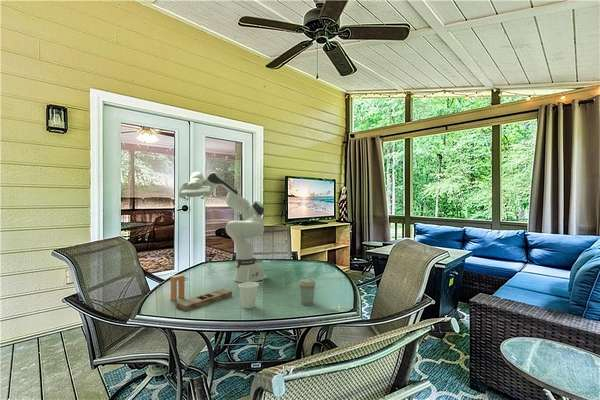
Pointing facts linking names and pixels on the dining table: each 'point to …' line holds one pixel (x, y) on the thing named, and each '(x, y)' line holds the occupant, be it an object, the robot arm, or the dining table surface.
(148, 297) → the dining table surface
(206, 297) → the rail
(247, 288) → the cup
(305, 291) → the coffee cup
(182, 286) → the clip
